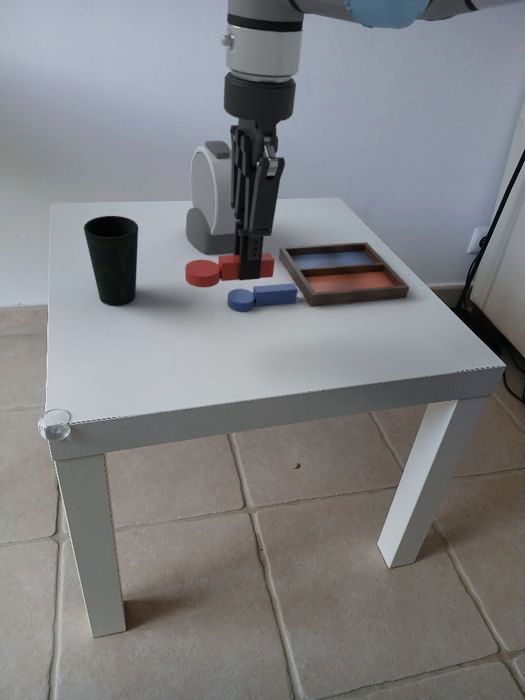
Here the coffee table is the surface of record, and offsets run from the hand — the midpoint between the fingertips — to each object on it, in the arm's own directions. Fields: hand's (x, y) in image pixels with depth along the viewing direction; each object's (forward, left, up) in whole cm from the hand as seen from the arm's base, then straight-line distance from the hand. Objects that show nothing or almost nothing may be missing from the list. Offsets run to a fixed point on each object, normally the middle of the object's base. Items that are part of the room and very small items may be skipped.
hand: (246, 272), depth 69 cm
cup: (+23, +2, -12) cm, 26 cm away
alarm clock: (+25, -25, -12) cm, 37 cm away
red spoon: (+2, +2, 0) cm, 3 cm away
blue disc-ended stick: (+5, -12, -12) cm, 18 cm away
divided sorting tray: (-1, -29, -12) cm, 31 cm away
